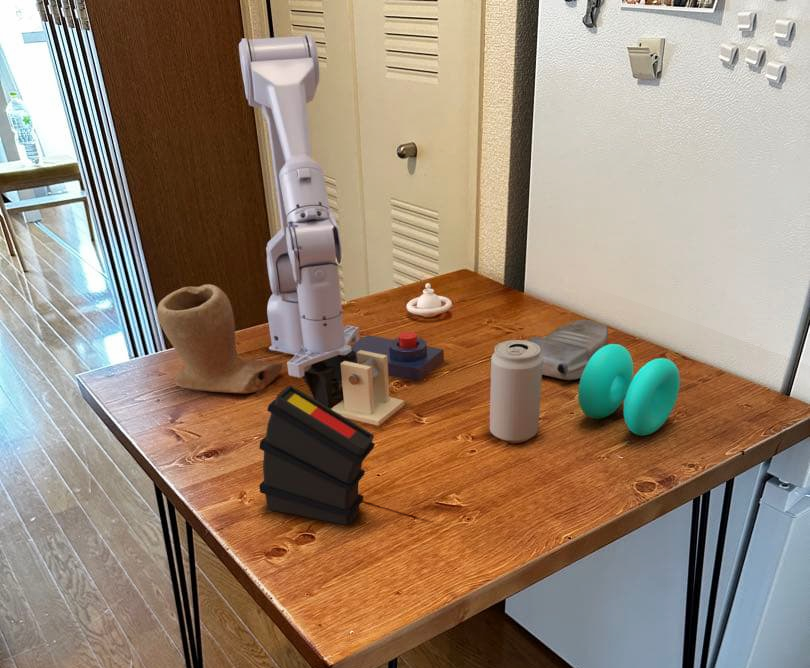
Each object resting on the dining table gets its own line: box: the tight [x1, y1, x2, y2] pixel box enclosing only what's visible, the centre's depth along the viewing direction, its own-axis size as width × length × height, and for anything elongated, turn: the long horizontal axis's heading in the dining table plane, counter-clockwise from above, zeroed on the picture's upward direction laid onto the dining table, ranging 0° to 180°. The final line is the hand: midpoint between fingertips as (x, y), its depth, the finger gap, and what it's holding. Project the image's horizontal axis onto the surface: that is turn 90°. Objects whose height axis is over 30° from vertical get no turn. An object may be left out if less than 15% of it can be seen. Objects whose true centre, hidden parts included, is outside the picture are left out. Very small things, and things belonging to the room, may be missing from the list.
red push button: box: [397, 331, 418, 348], centre depth 122 cm, size 3×3×2 cm
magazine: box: [258, 385, 376, 526], centre depth 90 cm, size 4×13×15 cm, turn 69°
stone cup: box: [156, 283, 284, 394], centre depth 117 cm, size 15×12×15 cm
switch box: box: [330, 350, 405, 427], centre depth 111 cm, size 8×7×8 cm
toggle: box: [332, 358, 380, 398], centre depth 112 cm, size 10×3×3 cm
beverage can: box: [489, 339, 543, 444], centre depth 103 cm, size 6×6×12 cm
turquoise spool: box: [577, 343, 681, 436], centre depth 104 cm, size 10×10×10 cm
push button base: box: [350, 334, 445, 382], centre depth 124 cm, size 14×8×4 cm, turn 60°
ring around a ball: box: [406, 282, 453, 318], centre depth 140 cm, size 8×6×8 cm
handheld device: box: [527, 319, 609, 381], centre depth 123 cm, size 10×20×5 cm, turn 146°
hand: (330, 404), depth 116 cm, fingers closed on toggle, 3 cm apart
